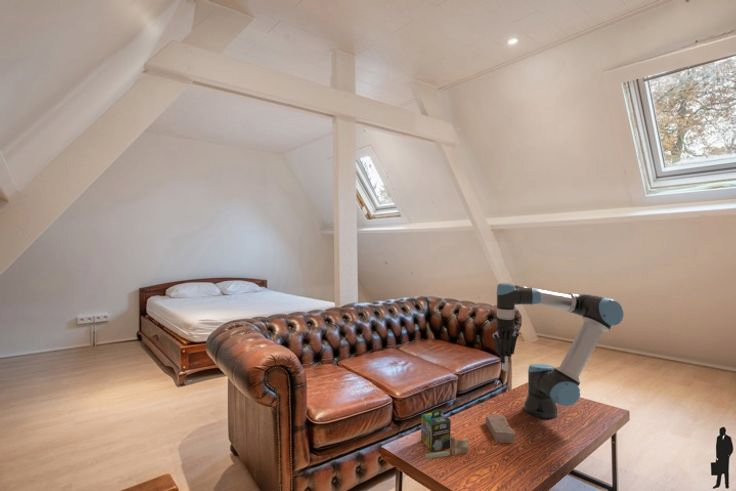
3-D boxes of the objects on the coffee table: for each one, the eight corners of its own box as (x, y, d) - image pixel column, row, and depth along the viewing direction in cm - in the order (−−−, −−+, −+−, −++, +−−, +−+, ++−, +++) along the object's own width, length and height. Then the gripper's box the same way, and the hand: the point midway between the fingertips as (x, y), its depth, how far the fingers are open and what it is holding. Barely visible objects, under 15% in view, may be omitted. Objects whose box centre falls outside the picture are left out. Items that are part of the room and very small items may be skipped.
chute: (447, 430, 163) (447, 416, 163) (468, 452, 146) (468, 436, 146) (433, 432, 161) (433, 418, 161) (452, 455, 145) (452, 438, 145)
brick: (515, 443, 154) (516, 432, 154) (495, 443, 154) (495, 431, 154) (503, 424, 171) (503, 414, 171) (484, 423, 171) (485, 413, 171)
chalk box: (438, 436, 158) (439, 402, 158) (451, 448, 150) (451, 411, 150) (420, 440, 155) (420, 405, 155) (431, 452, 146) (432, 415, 146)
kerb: (448, 453, 146) (448, 450, 146) (449, 455, 145) (449, 452, 145) (425, 457, 143) (425, 454, 143) (426, 458, 142) (426, 455, 142)
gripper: (512, 315, 171) (512, 366, 171) (487, 316, 168) (487, 368, 168) (523, 318, 164) (522, 371, 164) (497, 320, 161) (497, 374, 161)
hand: (504, 370), depth 166 cm, fingers closed
